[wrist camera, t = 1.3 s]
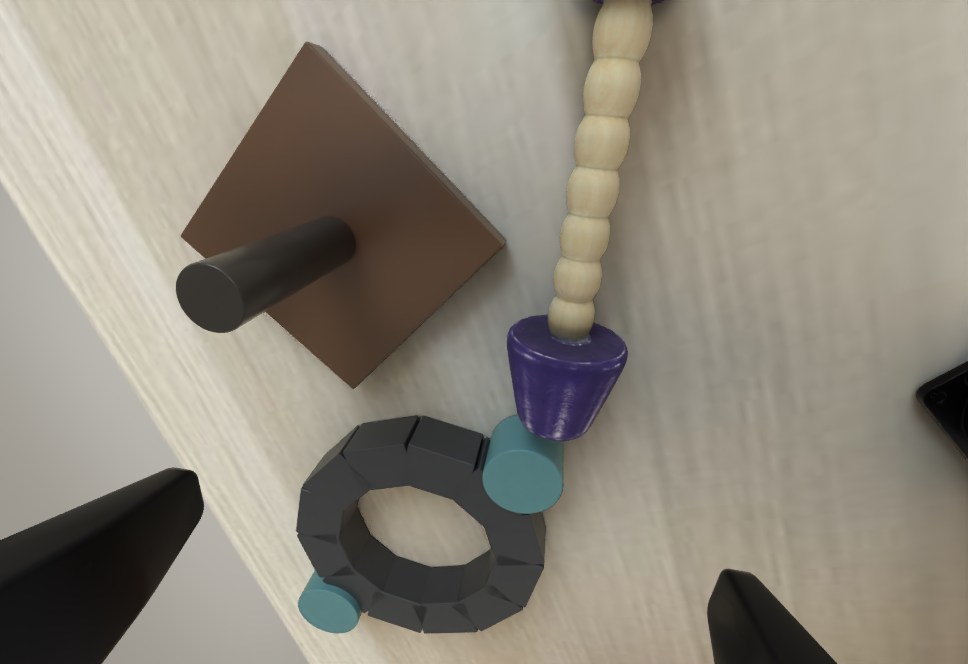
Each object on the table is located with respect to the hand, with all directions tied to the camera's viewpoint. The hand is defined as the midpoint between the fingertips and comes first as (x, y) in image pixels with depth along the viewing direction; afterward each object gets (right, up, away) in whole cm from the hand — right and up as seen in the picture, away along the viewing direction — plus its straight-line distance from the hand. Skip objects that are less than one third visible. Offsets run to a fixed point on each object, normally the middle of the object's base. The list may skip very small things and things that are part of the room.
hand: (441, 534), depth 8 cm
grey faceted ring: (-3, -7, +18) cm, 19 cm away
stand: (-5, +8, +12) cm, 15 cm away
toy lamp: (+5, +15, +5) cm, 16 cm away
